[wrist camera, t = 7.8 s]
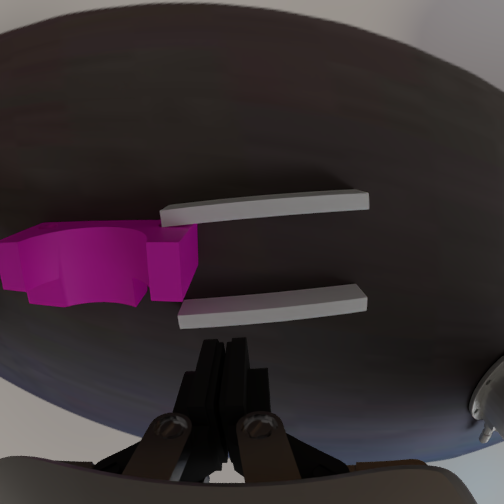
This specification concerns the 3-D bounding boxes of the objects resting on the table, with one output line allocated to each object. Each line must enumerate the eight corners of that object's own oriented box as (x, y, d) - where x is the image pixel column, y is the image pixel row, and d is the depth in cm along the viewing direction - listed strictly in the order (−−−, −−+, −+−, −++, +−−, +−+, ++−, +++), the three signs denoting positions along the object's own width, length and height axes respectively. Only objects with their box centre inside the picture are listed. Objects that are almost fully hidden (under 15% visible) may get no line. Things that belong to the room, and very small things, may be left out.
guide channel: (355, 296, 27) (366, 310, 24) (186, 312, 27) (180, 328, 24) (355, 189, 25) (368, 193, 22) (169, 204, 25) (159, 210, 22)
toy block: (53, 284, 27) (10, 318, 19) (44, 222, 25) (-6, 242, 18) (199, 291, 27) (185, 336, 20) (197, 219, 25) (178, 242, 18)
